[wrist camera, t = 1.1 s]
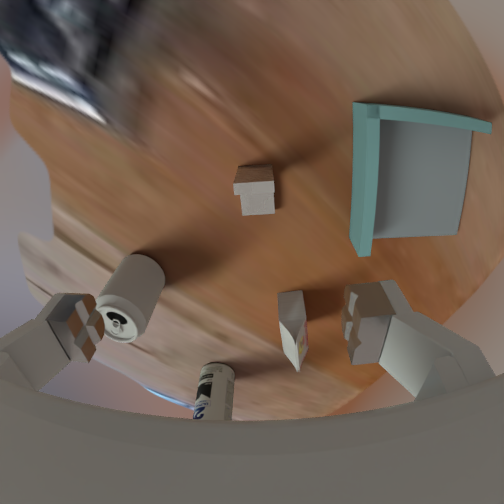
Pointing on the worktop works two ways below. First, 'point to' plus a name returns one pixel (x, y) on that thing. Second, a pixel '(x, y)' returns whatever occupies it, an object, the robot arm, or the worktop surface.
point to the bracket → (255, 189)
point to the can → (130, 297)
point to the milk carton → (293, 326)
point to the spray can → (215, 393)
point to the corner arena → (408, 171)
